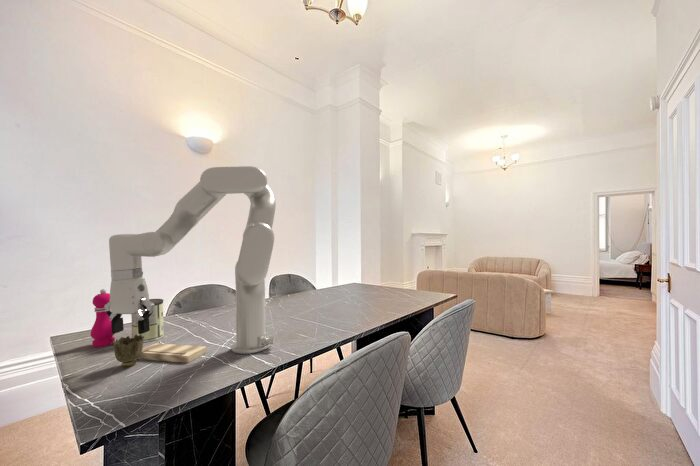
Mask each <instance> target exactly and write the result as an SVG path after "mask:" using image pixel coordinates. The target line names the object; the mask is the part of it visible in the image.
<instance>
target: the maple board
mask: <svg viewBox="0 0 700 466" xmlns="http://www.w3.org/2000/svg"><path fill="white" fill-rule="evenodd" d="M207 349H208V346H203V345H200V346H199V345H189V344H187V345H184V344H174V343H157V342H155V343H153V344H151V345H148V346H145V347H143V348H142V353H141V355H140V356H139V357H138V358H137V359H136V360H138V359H139V360H148V361H162V362H174V363H184V364H185V363H186V364H187V363H188V364H189V363H191V362H192V361H196V359H198V358H201V357H202V356H203V355H206V354H207V353H208V350H207Z"/></svg>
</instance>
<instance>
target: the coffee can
mask: <svg viewBox="0 0 700 466" xmlns="http://www.w3.org/2000/svg"><path fill="white" fill-rule="evenodd" d="M149 301H151V302H152V303H154V304H155V306H154V309H153V313H152V314H151V317H150V318H149V327H150V330H149V331H148V332H145V333H143V334H139V333H138V320H140V319H139V318H138V317H137V315H136V314H130V315H131V316H130V317H131V338H134V336H135V335H137V336H139V335H142V337H143V336H144V340H143V344H144V343H150V342H153V341H157V340H160V339H162V338H164V336H165V334H164V299H163V298H149ZM141 314H142V315H143V312H142V313H141Z"/></svg>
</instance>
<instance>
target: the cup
mask: <svg viewBox="0 0 700 466" xmlns="http://www.w3.org/2000/svg"><path fill="white" fill-rule="evenodd" d="M143 340H144V336H143V337H142V335H139V336H137V335H135V336H134V338H132V337H130V336H129V335H127V336H126V337H123V336H121V337H120V338H119V339H118V338H116V339H115V341H114V342H113V344H112V345H113V351H114V356H115V359H116V360H117V361H118V362H120V363H121V364H120V365H121V367H122V368H131V367H133V366H135V365H136V364H137V360H138V359H137V358H138V357H139V356H140V355H141V353H142V349H143V348H144V343H143Z"/></svg>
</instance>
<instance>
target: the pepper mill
mask: <svg viewBox="0 0 700 466" xmlns="http://www.w3.org/2000/svg"><path fill="white" fill-rule="evenodd" d="M99 292H100V293H99V294H96V295H95V296H94V297H93V298H92V304H93V306H94V309H93V310H94V312H95V314H96V315H95V320H94V324H93V326H91V327H92V328H91V330H90V337H91V338H92V339H93V340H92V342H91V345H92V347H93V348H101V347H107V346H110V345H113V342H114V341H116V339H115V338H116V337H115V336H114V335H115V334H112V327H111V321H112V320H109V316H108V315H107V311H106V309H105V307H104V306H105V305H106V304H107V303H109V302H110V292H109V293H107V290H106V289H105V288H102V289H100V290H99Z"/></svg>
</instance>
